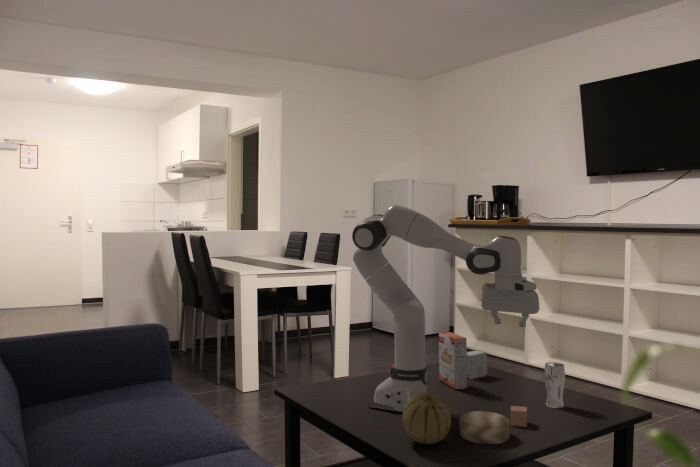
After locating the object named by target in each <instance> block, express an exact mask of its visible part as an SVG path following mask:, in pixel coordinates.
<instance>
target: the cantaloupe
mask: <svg viewBox="0 0 700 467" xmlns="http://www.w3.org/2000/svg"><path fill="white" fill-rule="evenodd" d="M402 424H403V427H404V430H405V432H406V434H407V435H408V436H409V438H411V440H413V441H415V442H416V443H419V444H422V445H434V444H436V443H440V442H442V440H444V438H445V437H446V436H448V434H449V431H450V429H451V426H452V416H451V410H450V407H449V406H448V404H447V402H446V401H445V400H444V399H443V398H442V397H441V396H439V395H437V394H435V393H432V392H427V393H421V394H418V395H416V396H414V397H412V398H411V399H410V400H409V402H408V403H407V404H406V406H405V408H404V412H403V413H402Z"/></svg>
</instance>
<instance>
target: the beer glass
mask: <svg viewBox="0 0 700 467" xmlns="http://www.w3.org/2000/svg"><path fill="white" fill-rule="evenodd" d="M565 370H566V369H565V364H564V363H560V362H552V361H551V362H545V363H544V384H545V389H546V396H547V397H546V402H545V405H546V407H548V408H551V409H563V408H564V407H565V404H564V399H563V398H564V396H563V395H564V390H565V384H566V383H565V382H566V371H565Z"/></svg>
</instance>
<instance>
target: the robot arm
mask: <svg viewBox="0 0 700 467" xmlns="http://www.w3.org/2000/svg"><path fill="white" fill-rule="evenodd" d="M392 236H393V237H397V238H399V239H401V240H403V241H405V242H406V243H408V244H411V245H414V246H416V247H420V248H423V249H435V250H436V249H437V250H441V251H444V252H446V253H449V254H451V255H453V256H455V257H457V258H459V259H461V260H464V261H465V263H466V264H465V265H466V268H467V269H468V270H469V271H470V272H471V273H473V274H475V275H479V276H484V275H488V274H490V273H493V274H494V282H493V283H489V282H487V283H484V285H482V288H481V290H482V291H481V292H482V294H481V308H482V309H483V311H490V314H491V316H492V318H493V320H494V322H493V324H494V325H501V324H502V320H501V319H502V318H499V316H498V314H499V312H504V313H513V314H514V313H515V314H521V317H522V319H521V320H520V321H518V323H519V324H518V326H519V327H520V328H526V327H527V321H528V318H530V315H536V314H538V313H539V312H540V299H539V294H538V293H537V291H536V290H537V284H536V283H535V282H532V281H529V280H527V279H525V278H523V273H522V270H521V268H522V248H521V244H520V242H519V240H518V239H517V238H515V237H511V236H506V235H497V236H495V237H494V238H493V239H491V240H489V241H488V242H485V243H483V244H474V243H473V244H472V243H470V242H468V241H465V240H464V239H461V238H459V237H457V236H455V235H453V234H452V233H449V232H448V231H446V230H445V228H443V227H441V225H439V224H437V222H435V221H434V220H433V219H432V218H429V217H428V216H426V215H425V214H423V213H420V212H418V211H416V210H414V209H412V208H409V207H405V206H403V205H398V204H393V205H390V207H388V208H387V209H386V210H385V211H384V214H381V213H380V214H373V215H372V216H369V217H366V218H364V219H362V221H361V222H359V223H357V225H356V226H355V227H354V228H353V231H352V242H353V244H354V246H355V247H356V248H357V249H356V250H355V251H354V254H352V255H353V256H352V260H353V263H354V264H355V267H356V269H357V270H358V272H359V274H360V275H361V277H362V278H363V279H364V281H365V282H366V283H367V285H368V286H369V287H370V289H371V290H372V292H373V293H374V294H375V296H376V297H377V299H379V301H381V302H382V303H383V304H384V306H385V307H386V308H387V309H388V310H389V311H390V312H391V314H392V315H393V334H394V336H393V337H394V338H393V339H394V364H392V365H390V368H389V369H388V374H389V377H387V378H386V379H385V380H384V381H382V382H381V383H380V384H378V385H377V386H376V388H375V391H374V396H373V397H374V402H375V403H378V404H383V405H387V406H391V407H393V408H394V409H395V410H399V411H403V412H404V408H405V406H406V404H407V403H408V402H409V400H410V399H411V398H412V397H414V396H416V395H418V394H421V393H428V389H427V382H428V369H427V367H426V314H425V307H424V305H423V303H422V301H421V300H420V299H419V298H418V297H417V295H416V294H415V293H414V291H412V289H411V288H410V287H409V285H407V283H406V282H405V281H404V280H403V279H402V278H401V276H400V275H399V273H398V272H397V271H396V269H395V268H394V267H393V265H392V264H391V262H390V261H389V260H388V259H387V258H386V257H385V255H384V253H383V251H382V250H383V249H382V248H383V247H385V246H386V244H387V242H388V241H389V240H390V239H391V237H392Z"/></svg>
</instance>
